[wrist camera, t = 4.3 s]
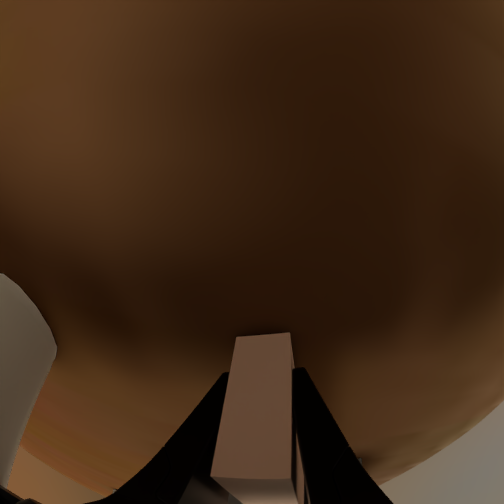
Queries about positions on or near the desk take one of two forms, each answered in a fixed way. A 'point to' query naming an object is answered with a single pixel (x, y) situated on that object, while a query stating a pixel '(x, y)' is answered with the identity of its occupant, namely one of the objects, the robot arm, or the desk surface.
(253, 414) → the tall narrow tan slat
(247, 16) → the desk surface
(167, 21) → the desk surface
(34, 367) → the foam cup
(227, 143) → the desk surface
